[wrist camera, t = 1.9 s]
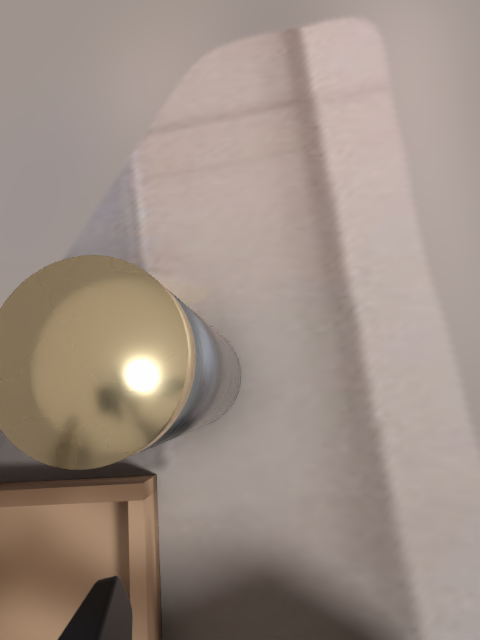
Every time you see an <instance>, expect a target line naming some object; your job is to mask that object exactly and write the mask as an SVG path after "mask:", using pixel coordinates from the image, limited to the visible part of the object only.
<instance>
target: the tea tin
mask: <svg viewBox="0 0 480 640" xmlns="http://www.w3.org/2000/svg"><path fill="white" fill-rule="evenodd" d="M240 383H241V369H240V363H239V360H238V357H237V355H236V353H235V351H234V349H233V347H232V346H231V345H230V344H229V342H228V341H227V340H226V339H225V338H224V337H222V336H221V335H220V334H219V333H218V332H217V331H215V330H214V329H213V328H212V327H211V326H210V325H208V324H207V323H206V322H205V321H204V320H203V319H201V318H200V317H199V316H198V315H197V314H196V313H194V312H193V311H192V310H191V309H190V308H189V307H187V306H186V305H185V304H184V303H183V302H182V301H180V300H179V299H178V298H177V297H176V296H175V295H173V294H172V293H171V292H170V291H169V290H168V289H166V288H165V287H164V286H163V285H162V284H161V283H159V282H158V281H157V280H156V279H155V278H154V277H152V276H151V275H150V274H148V273H147V272H146V271H144V270H143V269H141V268H139V267H137V266H135V265H134V264H132V263H129V262H126V261H124V260H121V259H117V258H113V257H109V256H99V255H87V256H78V257H72V258H67V259H64V260H61V261H58V262H55V263H53V264H51V265H49V266H46V267H44V268H43V269H41V270H39V271H38V272H36V273H34V274H33V275H31V276H30V277H29V278H28V279H26V280H25V281H24V282H23V283H22V284H21V285H20V286H19V287H18V288H16V289H15V291H14V292H13V293H12V294H11V295H10V296H9V298H8V299H7V300H6V301H5V303H4V304H3V306H2V307H1V309H0V429H1V431H2V432H3V433H4V434H5V435H6V437H7V438H8V439H9V440H10V441H11V442H12V443H13V444H14V445H15V446H16V447H17V448H18V449H19V450H21V451H22V452H24V453H25V454H27V455H28V456H30V457H31V458H33V459H35V460H37V461H39V462H41V463H44V464H47V465H50V466H53V467H57V468H63V469H69V470H86V469H93V468H99V467H103V466H107V465H110V464H113V463H115V462H118V461H120V460H123V459H125V458H127V457H130V456H132V455H135V454H137V453H139V452H142V451H144V450H147V449H149V448H151V447H154V446H156V445H159V444H161V443H163V442H166V441H168V440H171V439H173V438H175V437H178V436H180V435H183V434H185V433H187V432H190V431H192V430H194V429H197V428H199V427H202V426H204V425H206V424H209V423H211V422H213V421H215V420H217V419H218V418H220V417H221V416H222V415H224V414H225V413H226V412H227V411H228V410H229V408H230V407H231V406H232V404H233V403H234V401H235V399H236V397H237V394H238V392H239V388H240Z"/></svg>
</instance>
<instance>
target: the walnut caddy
mask: <svg viewBox="0 0 480 640" xmlns="http://www.w3.org/2000/svg"><path fill="white" fill-rule="evenodd" d="M112 576H118V577H119V578H120V579H121V581H122V583H123V585H124V588H125V590H126V593H127V595H128V598H129V600H130V603H131V607H132V615H133V620H132V640H162V618H161V589H160V560H159V530H158V501H157V475H141V476H123V477H104V478H86V479H67V480H49V481H30V482H12V483H0V640H58V638H59V637H60V635H61V634H62V632H63V631H64V629H65V627H66V626H67V624H68V623H69V621H70V620H71V618H72V617H73V615H74V614H75V612H76V611H77V609H78V608H79V606H80V605H81V603H82V602H83V600H84V599H85V597H86V596H87V594H88V593H89V591H90V590H91V588H92V587H93V585H94V584H95V583H96V582H97V581H98V580H100V579H103V578H108V577H112Z"/></svg>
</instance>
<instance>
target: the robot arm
mask: <svg viewBox="0 0 480 640" xmlns="http://www.w3.org/2000/svg"><path fill="white" fill-rule="evenodd" d="M132 620H133V615H132V607H131V603H130V600H129V598H128V595H127V593H126V590H125V588H124V585H123V583H122V581H121V579H120V578H119V577H118V576H112V577H108V578H103V579H100V580H98V581H97V582H96V583H95V584H94V585H93V587H92V588H91V590H90V591H89V593H88V594H87V596H86V597H85V599H84V600H83V602H82V603H81V605H80V606H79V608H78V609H77V611H76V612H75V614H74V615H73V617H72V618H71V620H70V621H69V623H68V624H67V626H66V627H65V629H64V631H63V632H62V634H61V635H60V637H59V638H58V640H132Z"/></svg>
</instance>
